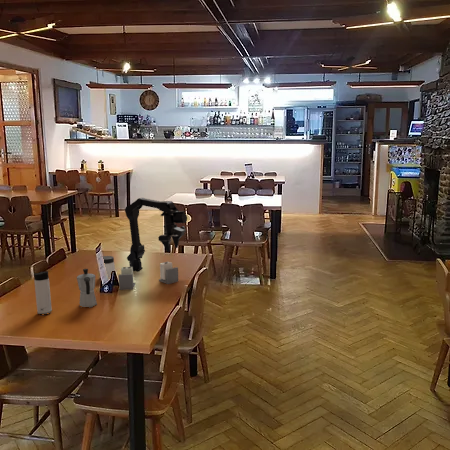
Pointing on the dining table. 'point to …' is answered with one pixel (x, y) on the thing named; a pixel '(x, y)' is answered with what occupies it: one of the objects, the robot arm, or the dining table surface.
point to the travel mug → (42, 292)
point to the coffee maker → (87, 289)
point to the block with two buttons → (127, 270)
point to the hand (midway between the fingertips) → (172, 249)
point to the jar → (109, 264)
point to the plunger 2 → (164, 269)
